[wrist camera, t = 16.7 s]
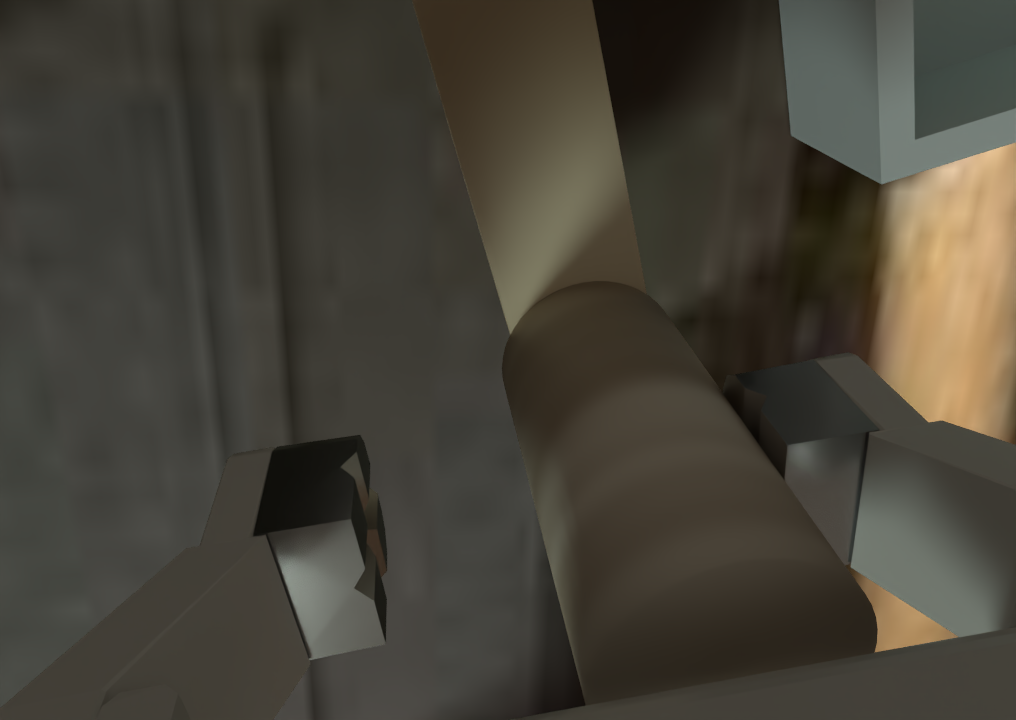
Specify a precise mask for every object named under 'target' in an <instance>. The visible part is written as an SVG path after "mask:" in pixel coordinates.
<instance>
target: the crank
mask: <svg viewBox="0 0 1016 720" xmlns="http://www.w3.org/2000/svg"><path fill="white" fill-rule="evenodd" d="M412 2H413V5H414V9H415V12H416V16H417V19H418V22H419V26H420V29H421V33H422V36H423V39H424V43H425V46H426V50H427V53H428V56H429V60H430V63H431V67H432V70H433V74H434V77H435V80H436V84H437V87H438V91H439V94H440V97H441V101H442V104H443V108H444V111H445V114H446V118H447V121H448V125H449V128H450V132H451V135H452V138H453V142H454V145H455V149H456V152H457V155H458V159H459V162H460V166H461V169H462V172H463V176H464V179H465V183H466V186H467V190H468V193H469V196H470V200H471V203H472V207H473V210H474V213H475V217H476V220H477V224H478V227H479V230H480V234H481V237H482V241H483V244H484V248H485V251H486V254H487V258H488V261H489V265H490V268H491V271H492V275H493V278H494V282H495V285H496V288H497V292H498V295H499V299H500V302H501V306H502V309H503V312H504V316H505V319H506V323H507V326H508V329H509V333H510V337H509V339H508V342H507V344H506V347H505V351H504V355H503V363H502V374H503V382H504V386H505V390H506V394H507V398H508V402H509V406H510V410H511V414H512V418H513V422H514V426H515V429H516V433H517V437H518V441H519V445H520V449H521V453H522V457H523V461H524V465H525V469H526V473H527V477H528V480H529V484H530V488H531V492H532V496H533V500H534V504H535V508H536V512H537V516H538V520H539V524H540V528H541V531H542V535H543V539H544V543H545V547H546V551H547V555H548V559H549V563H550V567H551V571H552V575H553V579H554V582H555V586H556V590H557V594H558V598H559V602H560V606H561V610H562V614H563V618H564V622H565V626H566V630H567V633H568V637H569V641H570V645H571V649H572V653H573V657H574V661H575V665H576V669H577V673H578V677H579V681H580V685H581V688H582V692H583V696H584V700H585V704H586V705H591V704H597V703H602V702H608V701H613V700H619V699H624V698H629V697H635V696H640V695H646V694H651V693H657V692H662V691H667V690H673V689H678V688H684V687H689V686H694V685H700V684H705V683H711V682H716V681H722V680H727V679H732V678H738V677H743V676H749V675H754V674H760V673H765V672H770V671H776V670H781V669H787V668H792V667H798V666H803V665H809V664H814V663H820V662H825V661H831V660H837V659H842V658H848V657H853V656H859V655H864V654H870V653H874V652H875V648H876V644H877V622H876V616H875V613H874V610H873V607H872V605H871V603H870V601H869V600H868V598H867V596H866V595H865V593H864V592H863V590H862V589H861V587H860V586H859V585H858V583H857V582H856V580H855V579H854V578H853V576H852V575H851V573H850V572H849V571H848V569H847V568H846V566H845V565H844V564H843V562H842V561H841V559H840V558H839V556H838V555H837V554H836V552H835V551H834V549H833V548H832V547H831V545H830V544H829V542H828V541H827V540H826V538H825V537H824V535H823V534H822V532H821V531H820V530H819V528H818V527H817V525H816V524H815V523H814V521H813V520H812V518H811V517H810V516H809V514H808V513H807V511H806V510H805V509H804V507H803V506H802V504H801V503H800V501H799V500H798V499H797V497H796V496H795V494H794V493H793V492H792V490H791V489H790V487H789V486H788V485H787V483H786V482H785V480H784V479H783V478H782V476H781V475H780V473H779V472H778V470H777V469H776V468H775V466H774V465H773V463H772V462H771V461H770V459H769V458H768V456H767V455H766V454H765V452H764V451H763V449H762V448H761V447H760V445H759V444H758V442H757V441H756V439H755V438H754V437H753V435H752V434H751V432H750V431H749V430H748V428H747V427H746V425H745V424H744V423H743V421H742V420H741V418H740V417H739V415H738V414H737V413H736V411H735V410H734V408H733V407H732V406H731V404H730V403H729V401H728V400H727V399H726V397H725V396H724V394H723V393H722V392H721V390H720V389H719V387H718V386H717V384H716V383H715V382H714V380H713V379H712V377H711V376H710V375H709V373H708V372H707V370H706V369H705V368H704V366H703V365H702V363H701V362H700V361H699V359H698V358H697V356H696V355H695V353H694V352H693V351H692V349H691V348H690V346H689V345H688V344H687V342H686V341H685V339H684V338H683V337H682V335H681V334H680V332H679V331H678V330H677V328H676V327H675V325H674V324H673V322H672V321H671V320H670V318H669V317H668V315H667V314H666V313H665V311H664V310H663V309H662V308H661V306H660V305H659V304H658V303H657V302H656V301H655V300H653V299H652V298H651V297H650V296H648V295H647V293H646V287H645V282H644V277H643V271H642V266H641V260H640V255H639V250H638V244H637V239H636V234H635V228H634V223H633V217H632V212H631V207H630V201H629V196H628V191H627V185H626V180H625V174H624V169H623V164H622V158H621V153H620V148H619V142H618V137H617V131H616V126H615V121H614V115H613V110H612V104H611V99H610V94H609V88H608V83H607V78H606V72H605V67H604V61H603V56H602V51H601V45H600V40H599V35H598V29H597V24H596V18H595V13H594V8H593V2H592V0H412Z"/></svg>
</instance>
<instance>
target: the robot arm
mask: <svg viewBox="0 0 1016 720" xmlns="http://www.w3.org/2000/svg"><path fill="white" fill-rule="evenodd" d="M723 394H724V396H725V397H726V399H727V400H728V401H729V403H730V404H731V406H732V407H733V408H734V410H735V411H736V413H737V414H738V415H739V417H740V418H741V420H742V421H743V423H744V424H745V425H746V427H747V428H748V430H749V431H750V432H751V434H752V435H753V437H754V438H755V439H756V441H757V442H758V444H759V445H760V447H761V448H762V449H763V451H764V452H765V454H766V455H767V456H768V458H769V459H770V461H771V462H772V463H773V465H774V466H775V468H776V469H777V470H778V472H779V473H780V475H781V476H782V478H783V479H784V480H785V482H786V483H787V485H788V486H789V487H790V489H791V490H792V492H793V493H794V494H795V496H796V497H797V499H798V500H799V501H800V503H801V504H802V506H803V507H804V509H805V510H806V511H807V513H808V514H809V516H810V517H811V518H812V520H813V521H814V523H815V524H816V525H817V527H818V528H819V530H820V531H821V532H822V534H823V535H824V537H825V538H826V540H827V541H828V542H829V544H830V545H831V547H832V548H833V549H834V551H835V552H836V554H837V555H838V556H839V558H840V559H841V561H842V562H843V564H844V565H847V564H851V568H853V569H854V570H856V571H857V572H859V573H860V574H862V575H864V576H865V577H867V578H868V579H870V580H871V581H873V582H874V583H876V584H878V585H879V586H881V587H882V588H884V589H885V590H887V591H888V592H890V593H892V594H893V595H895V596H896V597H898V598H899V599H901V600H902V601H904V602H906V603H907V604H909V605H910V606H912V607H913V608H915V609H916V610H918V611H920V612H921V613H923V614H924V615H926V616H927V617H929V618H930V619H932V620H934V621H935V622H937V623H938V624H940V625H941V626H943V627H945V628H946V629H948V630H949V631H951V632H952V633H954V634H955V635H957V636H959V637H958V638H952V639H947V640H941V641H936V642H930V643H925V644H919V645H914V646H908V647H903V648H897V649H892V650H886V651H881V652H875V653H870V654H864V655H859V656H853V657H848V658H842V659H837V660H831V661H825V662H820V663H814V664H809V665H803V666H798V667H792V668H787V669H781V670H776V671H770V672H765V673H760V674H754V675H749V676H743V677H738V678H732V679H727V680H722V681H716V682H711V683H705V684H700V685H694V686H689V687H684V688H678V689H673V690H667V691H662V692H657V693H651V694H646V695H640V696H635V697H629V698H624V699H619V700H613V701H608V702H602V703H597V704H591V705H586V706H581V707H575V708H570V709H564V710H559V711H554V712H548V713H543V714H537V715H532V716H526V717H521V718H516V719H510V720H1016V445H1014V444H1011V443H1008V442H1005V441H1002V440H999V439H996V438H993V437H990V436H987V435H984V434H981V433H978V432H975V431H972V430H969V429H966V428H963V427H960V426H957V425H954V424H951V423H948V422H945V421H936V422H930V423H929V422H927V421H926V420H925V419H924V418H923V417H922V416H921V415H920V414H919V413H918V412H917V411H916V410H915V409H914V408H913V407H912V406H910V405H909V404H908V403H907V402H906V401H905V400H904V399H903V398H902V397H901V396H900V395H899V394H898V393H897V392H896V391H894V390H893V389H892V388H891V387H890V386H889V385H888V384H887V383H886V382H885V381H884V380H883V379H882V378H881V377H880V376H879V375H877V374H876V373H875V372H874V371H873V370H872V369H871V368H870V367H869V366H868V365H867V364H866V363H865V362H864V361H863V360H861V359H860V358H859V357H858V356H857V355H854V354H851V353H843V354H838V355H833V356H828V357H823V358H818V359H813V360H808V361H805V362H800V363H794V364H789V365H783V366H778V367H773V368H767V369H762V370H757V371H751V372H746V373H740V374H735V375H730V376H726V380H725V384H724V387H723ZM369 485H370V461H369V458H368V454H367V451H366V447H365V443H364V441H363V439H362V437H361V436H360V435H355V436H348V437H341V438H334V439H327V440H320V441H313V442H306V443H300V444H293V445H286V446H279V447H276V448H273V447H270V448H264V449H258V450H253V451H247V452H241V453H235V454H233V455H232V456H230V457H229V458H228V460H227V461H226V464H225V468H224V471H223V474H222V477H221V480H220V483H219V486H218V490H217V493H216V496H215V499H214V502H213V505H212V508H211V512H210V515H209V518H208V521H207V524H206V527H205V530H204V534H203V537H202V540H201V543H200V546H197V547H191V548H186V549H185V550H184V551H183V552H182V553H180V554H179V555H178V556H177V557H176V558H175V559H173V560H172V561H171V562H170V563H169V564H168V565H166V566H165V567H164V568H163V569H162V570H161V571H159V572H158V573H157V574H156V575H155V576H154V577H152V578H151V579H150V580H149V581H148V582H147V583H145V584H144V585H143V586H142V587H141V588H140V589H138V590H137V591H136V592H135V593H134V594H133V595H131V596H130V597H129V598H128V599H127V600H126V601H124V602H123V603H122V604H121V605H120V606H119V607H118V608H116V609H115V610H114V611H113V612H112V613H111V614H109V615H108V616H107V617H106V618H105V619H104V620H102V621H101V622H100V623H99V624H98V625H97V626H95V627H94V628H93V629H92V630H91V631H90V632H88V633H87V634H86V635H85V636H84V637H83V638H81V639H80V640H79V641H78V642H77V643H76V644H74V645H73V646H72V647H71V648H70V649H69V650H67V651H66V652H65V653H64V654H63V655H62V656H60V657H59V658H58V659H57V660H56V661H55V662H54V663H52V664H51V665H50V666H49V667H48V668H47V669H45V670H44V671H43V672H42V673H41V674H40V675H38V676H37V677H36V678H35V679H34V680H33V681H31V682H30V683H29V684H28V685H27V686H26V687H24V688H23V689H22V690H21V691H20V692H19V693H17V694H16V695H15V696H14V697H13V698H12V699H10V700H9V701H8V702H7V703H6V704H5V705H3V706H2V707H1V708H0V720H273V719H274V718H275V716H276V715H277V713H278V712H279V710H280V709H281V707H282V706H283V704H284V703H285V701H286V700H287V698H288V697H289V695H290V694H291V692H292V691H293V690H294V688H295V687H296V685H297V684H298V682H299V681H300V679H301V678H302V676H303V675H304V673H305V672H306V670H307V669H308V667H309V666H310V661H309V660H311V659H316V658H321V657H326V656H331V655H336V654H341V653H346V652H350V651H355V650H360V649H365V648H370V647H375V646H380V645H384V644H386V608H387V598H386V594H385V590H384V586H383V583H382V579H381V577H382V576H383V575H384V574H385V573H386V571H387V546H386V535H385V527H384V521H383V515H382V510H381V506H380V501H379V497H378V494H377V493H376V492H375V491H373V490H372V489H371V488H369Z"/></svg>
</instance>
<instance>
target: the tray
mask: <svg viewBox="0 0 1016 720" xmlns="http://www.w3.org/2000/svg"><path fill="white" fill-rule="evenodd" d="M779 8H780V19H781V30H782V41H783V52H784V63H785V74H786V85H787V96H788V107H789V118H790V129H791V136H793V137H795V138H797V139H798V140H800V141H802V142H804V143H806V144H808V145H810V146H811V147H813V148H815V149H817V150H819V151H821V152H823V153H824V154H826V155H828V156H830V157H832V158H834V159H836V160H837V161H839V162H841V163H843V164H845V165H847V166H849V167H850V168H852V169H854V170H856V171H858V172H860V173H862V174H863V175H865V176H867V177H869V178H871V179H873V180H875V181H876V182H878V183H880V184H884V183H887V182H890V181H893V180H896V179H900V178H903V177H906V176H909V175H912V174H916V173H919V172H922V171H925V170H928V169H932V168H935V167H938V166H941V165H944V164H948V163H951V162H954V161H957V160H960V159H964V158H967V157H970V156H973V155H977V154H980V153H983V152H986V151H989V150H993V149H996V148H999V147H1002V146H1005V145H1009V144H1012V143H1015V142H1016V0H779Z"/></svg>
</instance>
